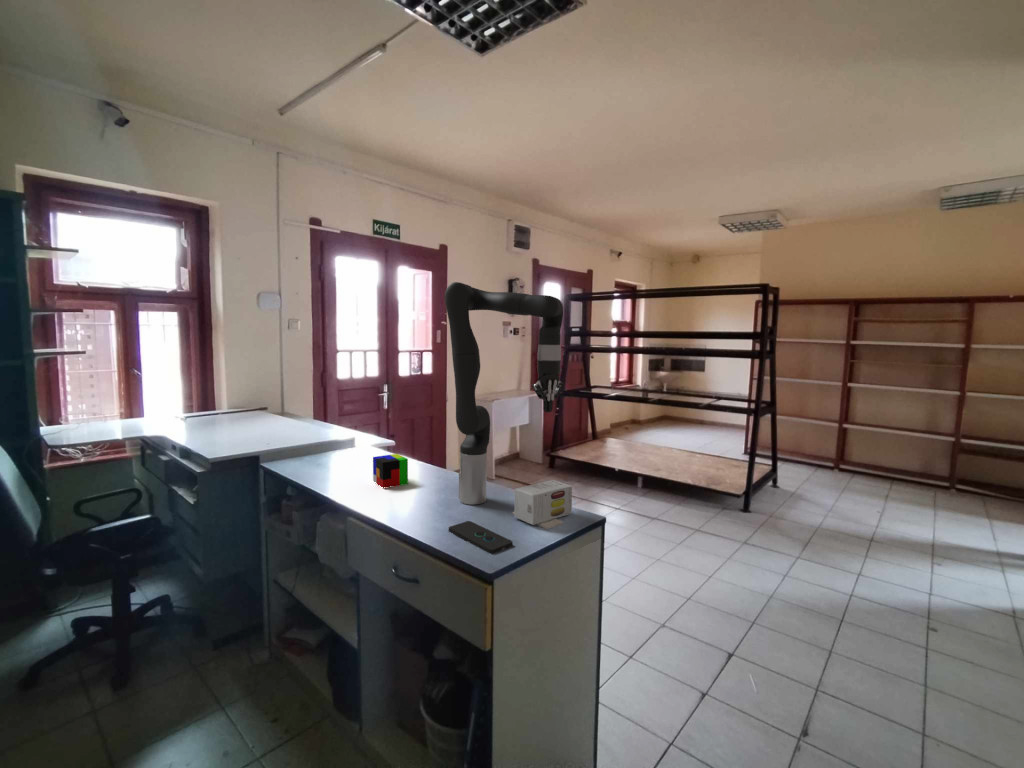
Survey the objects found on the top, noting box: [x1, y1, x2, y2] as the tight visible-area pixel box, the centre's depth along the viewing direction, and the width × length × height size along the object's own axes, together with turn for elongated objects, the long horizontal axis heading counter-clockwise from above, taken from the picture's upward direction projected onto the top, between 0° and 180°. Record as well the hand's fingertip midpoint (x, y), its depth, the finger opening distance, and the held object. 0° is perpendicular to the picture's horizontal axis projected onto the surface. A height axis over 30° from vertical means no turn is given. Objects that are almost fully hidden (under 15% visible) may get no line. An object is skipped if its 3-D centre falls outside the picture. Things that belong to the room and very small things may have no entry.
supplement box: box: [513, 479, 573, 526], centre depth 149 cm, size 10×9×17 cm
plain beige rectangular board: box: [512, 510, 564, 530], centre depth 149 cm, size 16×7×1 cm, turn 40°
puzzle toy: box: [372, 453, 409, 489], centre depth 183 cm, size 10×10×10 cm
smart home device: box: [448, 520, 513, 555], centre depth 134 cm, size 8×2×20 cm
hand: (547, 411), depth 154 cm, fingers closed
